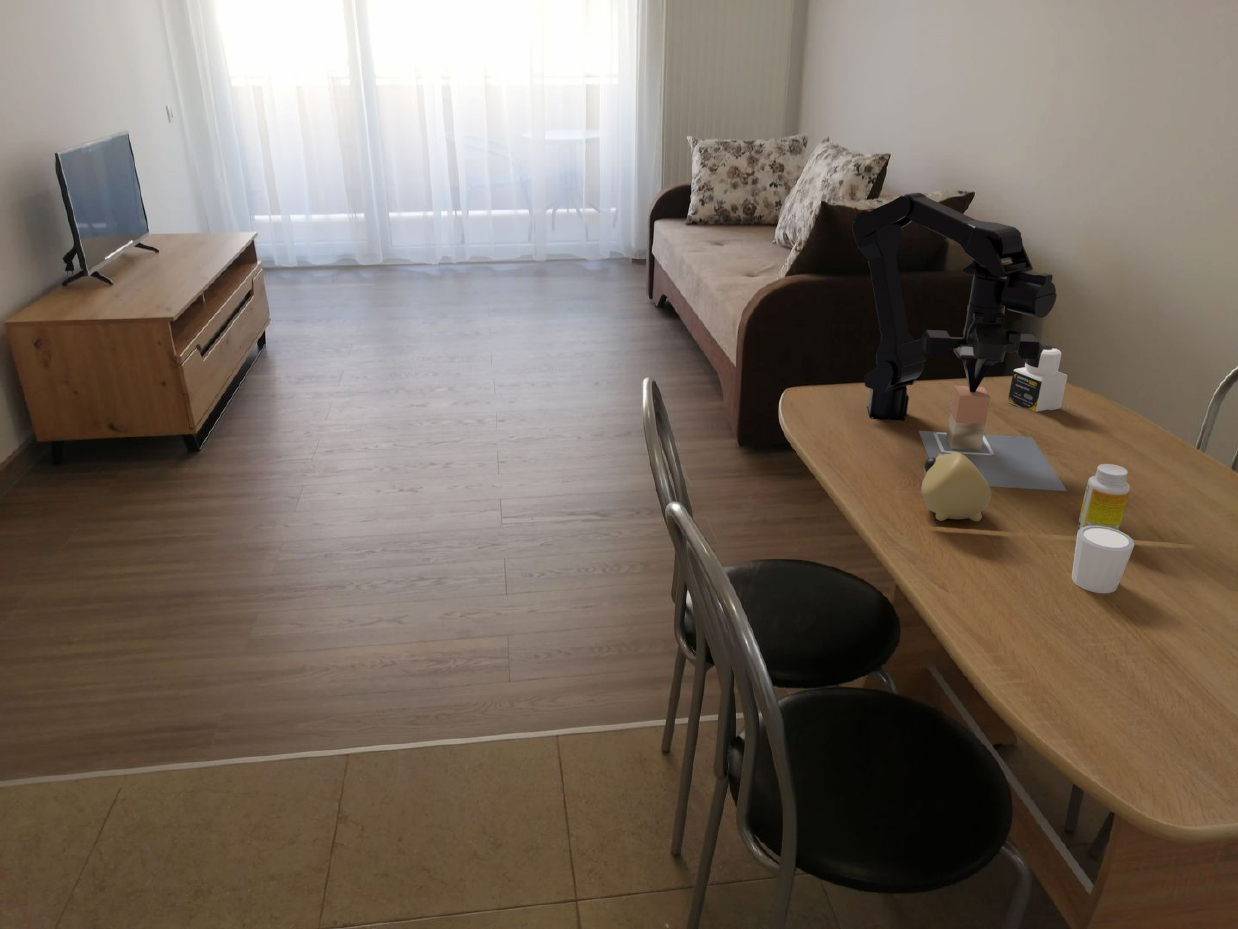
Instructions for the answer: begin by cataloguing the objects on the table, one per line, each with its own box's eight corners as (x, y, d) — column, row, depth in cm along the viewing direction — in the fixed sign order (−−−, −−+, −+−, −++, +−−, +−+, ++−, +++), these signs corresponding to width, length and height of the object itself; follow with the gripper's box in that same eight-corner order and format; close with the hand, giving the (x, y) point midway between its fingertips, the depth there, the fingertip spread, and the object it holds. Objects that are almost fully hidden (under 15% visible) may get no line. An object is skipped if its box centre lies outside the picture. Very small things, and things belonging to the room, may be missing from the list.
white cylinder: (1119, 601, 123) (1131, 555, 120) (1062, 586, 126) (1073, 541, 123) (1125, 577, 128) (1137, 533, 125) (1070, 563, 131) (1081, 519, 128)
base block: (951, 448, 165) (955, 422, 163) (946, 437, 170) (950, 411, 168) (980, 450, 165) (985, 424, 163) (974, 439, 169) (979, 413, 167)
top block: (955, 422, 163) (960, 395, 161) (949, 411, 168) (954, 385, 166) (985, 424, 163) (990, 397, 160) (978, 413, 167) (983, 387, 165)
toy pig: (972, 498, 149) (983, 437, 145) (993, 535, 138) (1006, 471, 134) (909, 496, 150) (918, 435, 145) (925, 532, 139) (935, 468, 135)
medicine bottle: (1006, 402, 188) (1017, 345, 182) (1032, 397, 190) (1044, 340, 185) (1034, 414, 182) (1046, 355, 177) (1061, 409, 184) (1074, 350, 179)
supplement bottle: (1125, 540, 137) (1142, 477, 133) (1088, 540, 137) (1103, 477, 133) (1106, 521, 142) (1121, 460, 138) (1070, 522, 142) (1084, 461, 138)
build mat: (938, 486, 153) (939, 482, 153) (918, 433, 173) (918, 430, 172) (1066, 494, 151) (1067, 490, 150) (1031, 440, 170) (1031, 436, 170)
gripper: (937, 314, 150) (924, 405, 157) (1059, 319, 148) (1040, 411, 155) (926, 296, 160) (914, 382, 167) (1040, 301, 158) (1023, 388, 165)
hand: (971, 391), depth 163 cm, fingers closed, pressing on top block
